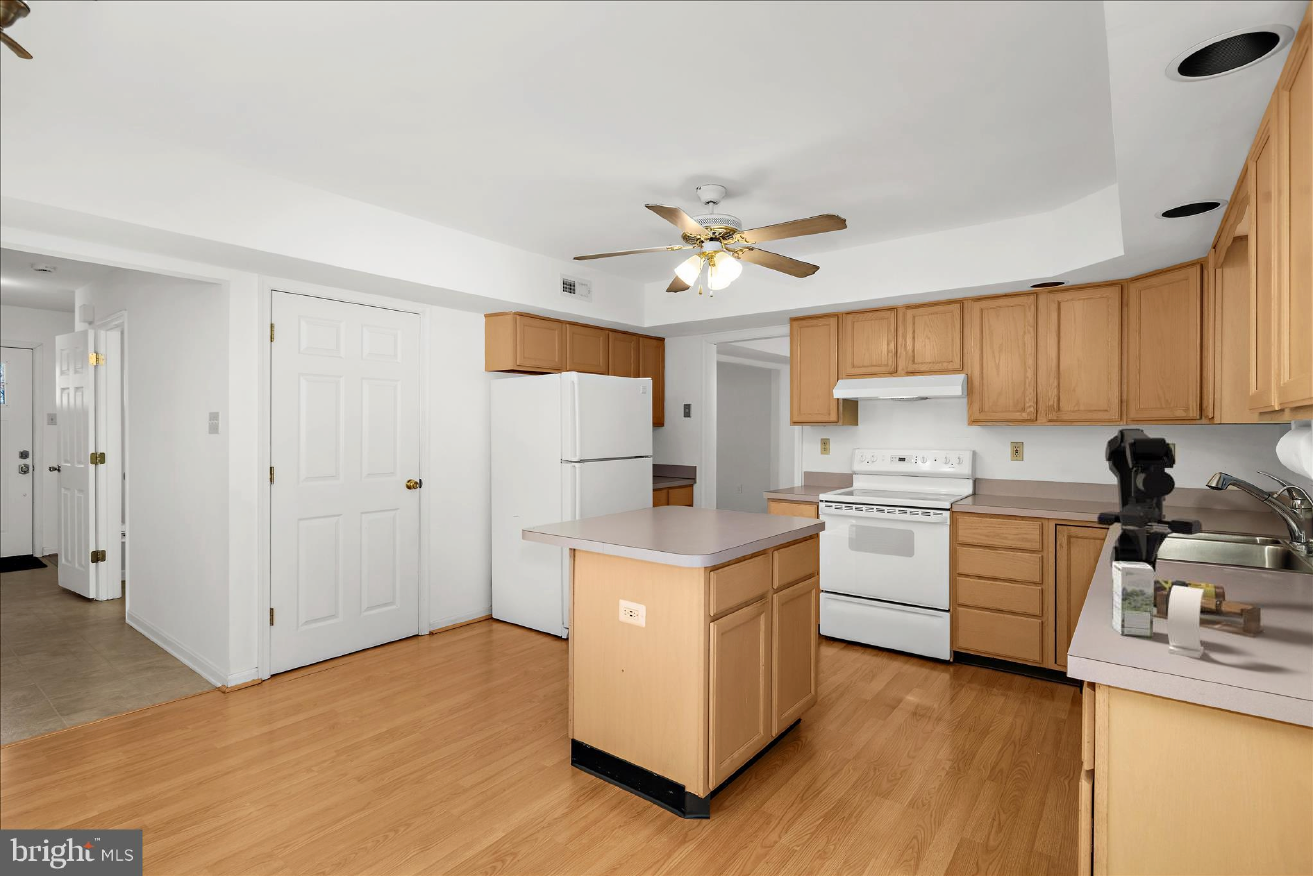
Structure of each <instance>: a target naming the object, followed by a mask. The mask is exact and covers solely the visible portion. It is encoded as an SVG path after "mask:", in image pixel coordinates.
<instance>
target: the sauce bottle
mask: <svg viewBox="0 0 1313 876" xmlns="http://www.w3.org/2000/svg"><path fill="white" fill-rule="evenodd" d="M1174 581H1175V580H1166V579H1154V598H1153V606H1156V607H1157V592H1160V591H1165V590H1167V591H1169V587H1170V586H1171V582H1174ZM1185 582H1186V584H1187V585H1188V587H1190V588H1197V589H1204V594H1203V597H1206V598H1211V599H1217V600H1218V599H1220V600H1225V601H1227V600H1226V591H1225V588H1224V586H1223V585H1215V584H1214V583H1213V584H1212V583H1202V582H1192V581H1191V582H1190V581H1185ZM1201 611H1202V612H1212V613H1216V612H1217V611H1214V610H1209V609H1204V608H1200V612H1201Z"/></svg>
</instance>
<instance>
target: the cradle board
mask: <svg viewBox="0 0 1313 876" xmlns="http://www.w3.org/2000/svg"><path fill="white" fill-rule="evenodd" d="M1163 592H1164V591H1160V592H1157V606H1156V613H1153V618H1157V619H1158V618H1159V619H1163V620H1168V607H1167V594H1165V593H1163ZM1261 619H1262V618H1261V607H1257V606H1256V607H1255V606H1253V608H1251V609H1246V608H1244V609H1243V616H1242V621H1243V622H1242V625H1241V624H1235V623H1230V622H1227V621H1219V620H1215V619H1211V618H1210V619H1209V618H1205V617H1201V616H1200V621H1199V627H1201V628H1205V629H1206V628H1207V629H1210V630H1215V631H1220V632H1225V633H1228V634H1229V633H1230V634H1235V635H1239V636H1244V637H1249V638H1254V637H1256V636H1259V635H1261V634H1262V633H1264V629H1261V628H1262V627H1261V623H1262V622H1261Z"/></svg>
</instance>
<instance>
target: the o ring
mask: <svg viewBox="0 0 1313 876" xmlns="http://www.w3.org/2000/svg"><path fill="white" fill-rule="evenodd" d="M1173 581H1174V582H1171V586H1170V587H1169V593H1167V607H1169V599H1170V594H1171V590H1172V587H1173V586H1174V585H1175V586H1183V587H1188V585H1187V584H1186V582H1187V581H1183V580H1178V579H1177V580H1173Z"/></svg>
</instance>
